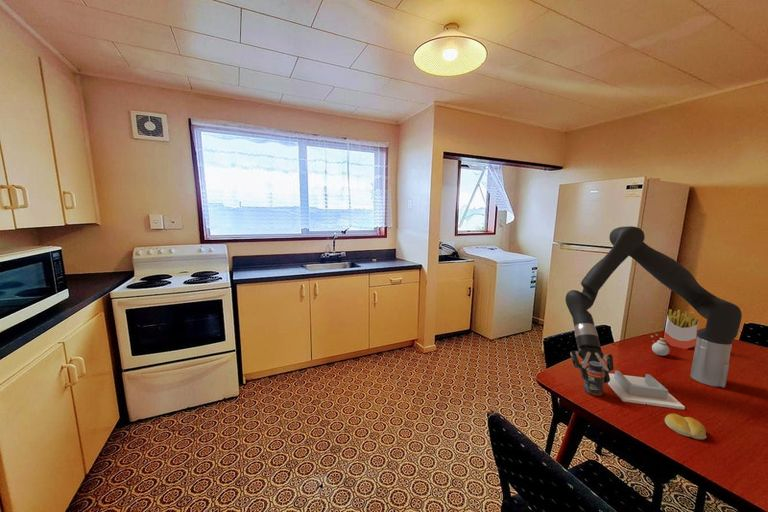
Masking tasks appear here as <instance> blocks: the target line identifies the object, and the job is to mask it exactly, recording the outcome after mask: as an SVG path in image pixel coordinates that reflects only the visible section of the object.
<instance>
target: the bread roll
mask: <svg viewBox="0 0 768 512" xmlns="http://www.w3.org/2000/svg"><path fill="white" fill-rule="evenodd" d="M664 423H665V424H666V426H667V427H668V428H670V429H671V430H672V431H674V432H675V433H677V434H678V435H679V434H680V435H681V436H685V437H689V438H693V439H694V440H705V439H707V435H706V434H707V430H706V427H705V426H704V424H702V423H701V422H700V421H699V420H697V419H695V418H693V417H690V416H681V415H680V414H677V413H669V414H667V415H666V416H665V417H664Z"/></svg>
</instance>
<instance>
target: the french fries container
mask: <svg viewBox="0 0 768 512" xmlns="http://www.w3.org/2000/svg"><path fill="white" fill-rule="evenodd" d="M672 312H673V310H672V309H668V313H667V314H666V315H667V316H666V323H665V330H664V333H663V334H664V335H663V338H664V339H665V340H664V342H666V344H668V345H669V346H671V347H675V348H679V349H683V350H688V349H690V348H693V347H695V345H696V339H697V333H698V327H699V319H698V317H697V316H695V315H694V314H695V313H694V311H689V313H688V311H687V310H686V311H685V313H681V309H677V311H675V310H674V312H673V313H672Z"/></svg>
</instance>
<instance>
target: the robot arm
mask: <svg viewBox="0 0 768 512" xmlns="http://www.w3.org/2000/svg"><path fill="white" fill-rule="evenodd" d="M608 239H609V241H610V243H611V245H613V246H612V247H611V248H610V250H609V251H608V253H607V254H606V255H604V256H603V257H602V258H601V259H600V260H599V261H598V262H596V264H595V265H593V266H592V267H591V268H590V270H589V271H588V272H587V273H586V275H585V276H584V277H583V279H582V280H581V281H580V284H581V287H582V291H579V290H576V289H572V290H569V291H568V292H567V293H566V295H565V304H566V307H567V309H568V311H569V313H570V315H571V317H572V323H573V328H574V329H573V330H574V337H575V341H576V345H577V350H574V349H572V350H571V351H570V352H569V356H570V358H571V362H572V364H573V367H574V368H576V369H579V371H580V375H581V378H582V379H583V380H586V381H587V380H588V375H587V370H586V367H587V366H588V364H589V362H590V361H596V362H599V363H601V364H602V365H603V366H602V369H603V370H604V372H605V380H604V384H608V382H609V381H610V377H609V373H611V372H612V371H615V370H614V369H615V368H614V367H615V366H614V357H613V354H611V353H609V354H605V353H603V351H602V348H601V347H602V346H601V343H600V339H599V334H598V331H597V329H596V326H595V322H594V319H593V316H592V315H593V314H591V312H589V311H588V310H589V309H591V308H592V306H593V305H594V303H595V301H596V299H597V296H598V293H599V291H600V289H601V288H603V286H604V284H605V283H606V282H607V281H608V279H609V278H610V277H611V276H612V274H613V273H614V272H615V271H616V269H618V268H619V267H620V265H621V264H623V262H624V261H626V259H628V257H630V258H631V259H633V260H634V261H636V263H638V265H640V266H641V267H642V268H643V269H644V270H646V272H648V274H650V275H651V276H653V278H655V279H656V280H657V281H659V282H660V283H661V284H662V285H663V286H665V287H666V288H668V289H669V290H671V291H672V292H673V293H675V294H676V295H678V296H679V297H681V298H682V299H683V300H685V301H686V302H687V303H688V304H689V305H690V306H691V307H692V308H693V309H694V310H695V311H696V312H697V313H698V315H700V317H702V318H704V319H705V320H706V323H705V327H704V328H699V329H697V333H696V343H695V346H694V353H693V359H692V363H691V369H690V375H689V376H690V378H692V380H695V381H697V382H699V383H700V384H703V385H707V386H710V387H715V388H717V387H720V388H723V389H725V388H726V385H727V379H728V373H729V368H730V361H729V360H730V356H731V351H732V345H733V341H734V340H735V339H736V338H737V337H738V333H739V330H740V325H741V322H742V317H743V316H742V310H741V309H740V307H739V306H738V305H736V304H735V303H732V302H730V301H727V300H725V299H723V298H720V297H718V296H716V295H715V294H713V293H711V292H710V291H708V290H707V289H705V288H704V287H703V286H702V285H700V283H699V282H698V281H697V279H696V278H695V276H694V275H693V274H692V273H691V272H690V271H689V270H688V269H687V268H686V267H684V266H683V265H682V264H681V263H679V262H678V261H676V260H675V259H674V258H672V257H671V256H668V255H667V254H665V253H662V252H660V251H658V250H656V249H654V248H652V246H650V245H648V243H645V233H644V231H643V230H642V229H641V228H640V227H639V226H638V227H637V226H631V225H630V226H619V227H616V228H613V229H612V230H611V231H610V234H609V238H608ZM578 356H579V357H580V358H581V362H579V359H578ZM603 358H604V360H605V361H606V363H605V361H604V360H603Z"/></svg>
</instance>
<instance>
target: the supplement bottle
mask: <svg viewBox="0 0 768 512" xmlns="http://www.w3.org/2000/svg"><path fill="white" fill-rule="evenodd" d="M602 366H603V365H602V364H601V363H600V362H596V361H590V362H589V363H588V365H586V368H585V369H586V370H587V375H588V380H587V381H586V380H584V379H583V380H584V383H583V391H585V392H586V393H587V394H589V395H592V396H598V397H601V396H602V395H603V394H604V389H605V388H604V387H605V383H604V380H605V372H604V370H603V369H602Z"/></svg>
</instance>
